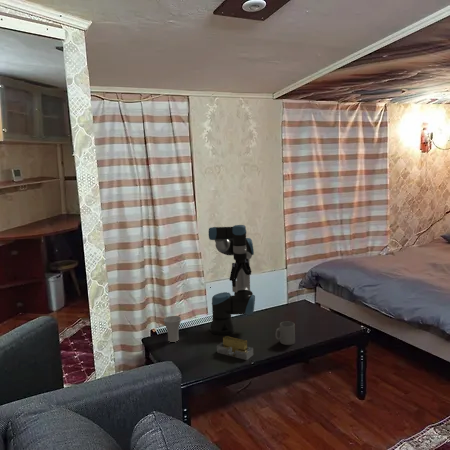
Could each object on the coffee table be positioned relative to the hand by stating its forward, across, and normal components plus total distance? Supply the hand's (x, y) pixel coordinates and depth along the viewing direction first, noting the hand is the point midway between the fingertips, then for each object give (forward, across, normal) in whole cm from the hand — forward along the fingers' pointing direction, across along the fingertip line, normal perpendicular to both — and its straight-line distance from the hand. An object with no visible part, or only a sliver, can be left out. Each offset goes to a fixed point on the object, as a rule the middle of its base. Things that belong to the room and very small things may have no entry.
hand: (241, 288), depth 237 cm
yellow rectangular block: (+30, -16, -5) cm, 35 cm away
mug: (+32, +10, -22) cm, 40 cm away
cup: (+32, -19, +37) cm, 52 cm away
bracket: (+32, -16, -4) cm, 36 cm away
